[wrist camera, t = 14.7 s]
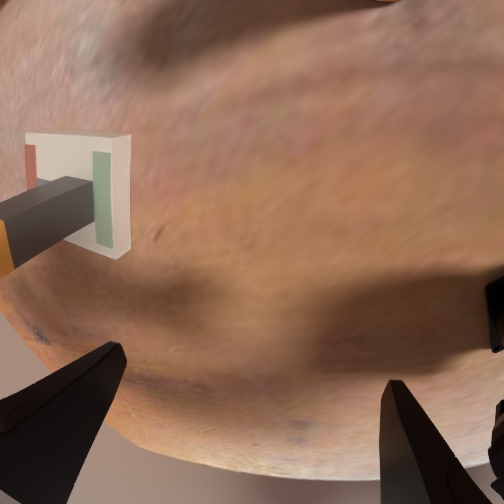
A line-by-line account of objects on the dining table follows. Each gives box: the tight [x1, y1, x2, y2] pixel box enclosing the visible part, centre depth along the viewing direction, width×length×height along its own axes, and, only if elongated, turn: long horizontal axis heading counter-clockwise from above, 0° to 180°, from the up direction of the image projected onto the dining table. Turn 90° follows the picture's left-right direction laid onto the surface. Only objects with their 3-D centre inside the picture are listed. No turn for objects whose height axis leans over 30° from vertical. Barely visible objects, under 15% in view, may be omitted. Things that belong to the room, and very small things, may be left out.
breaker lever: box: [0, 176, 94, 279], centre depth 15 cm, size 3×3×10 cm
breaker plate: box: [25, 129, 132, 260], centre depth 21 cm, size 11×9×2 cm
